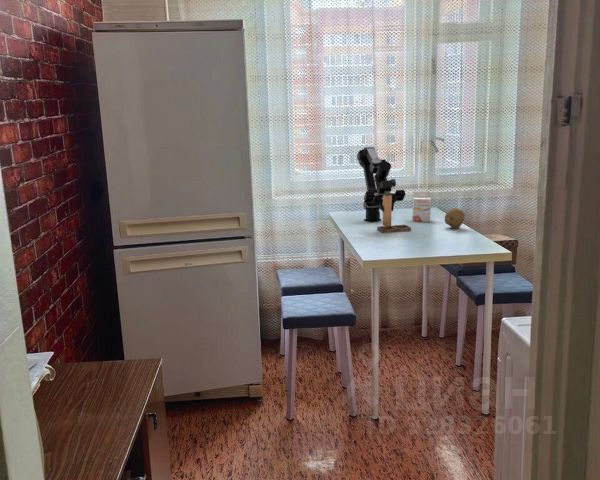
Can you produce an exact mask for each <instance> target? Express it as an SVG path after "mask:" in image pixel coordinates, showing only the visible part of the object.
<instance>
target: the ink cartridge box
mask: <svg viewBox="0 0 600 480" xmlns="http://www.w3.org/2000/svg"><path fill="white" fill-rule="evenodd" d="M431 205H432V198H431V192H430V191H425V190H423V191H416V190H415V191H413V198H412V218H411V219H412V222H416V223H430V222H431V211H432V210H431V207H432V206H431Z"/></svg>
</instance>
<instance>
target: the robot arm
mask: <svg viewBox="0 0 600 480" xmlns="http://www.w3.org/2000/svg"><path fill="white" fill-rule="evenodd" d="M356 159H357V161H358V163H359V166H360V167H362V169H363V173H364V174H363V175H364V181H365V186H366V191H365V193H364V196H363V204H362V205H363V209H364V210H365V218H364V219H363V221H365V222H372V223H375V222H378V221H382V218H381V212H382V213H383V212H384V208H383V195H385V191H390V195H392V212H394V208H395V207H394V206H395V203H396V202H402V201H404V200H405V196H406V191H405V190H404V189H396V190H395V192H392V188H395V187H396V186H397V181H396V179H395V178H392V179H390V180H388V178H387V177H388V176H389V174H390V171H391V169H392V164H391V163H390V162H389V161H386V159H385V158H383V159H381V158H379V156H378V154H377V152H376V148H375V147H374V146H365V147H363V149H360V150H359V151H358V152H357V154H356ZM380 210H381V212H380Z"/></svg>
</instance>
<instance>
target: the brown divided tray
mask: <svg viewBox="0 0 600 480" xmlns="http://www.w3.org/2000/svg"><path fill="white" fill-rule="evenodd" d="M376 230H377V231H379V232H380V233H381V234H388V233H401V232H412V231H411V230H412V227H411V226H408V225H406V224H395V225H391V226H383V225H382V226H377V227H376Z"/></svg>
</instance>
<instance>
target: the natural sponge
mask: <svg viewBox="0 0 600 480" xmlns="http://www.w3.org/2000/svg"><path fill="white" fill-rule="evenodd" d="M465 215H466V214H465V213H464V212H463V210H462V209H460V208H456V207H455V208H454V207H453V208H451V209H449V210H447V212H446V213H445V215H444V223H445V224H446V225H448V226H449V227H451V229H455V230H457V229H459V228H460V227H461V226H462V225H463V223H464V221H465Z"/></svg>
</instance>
